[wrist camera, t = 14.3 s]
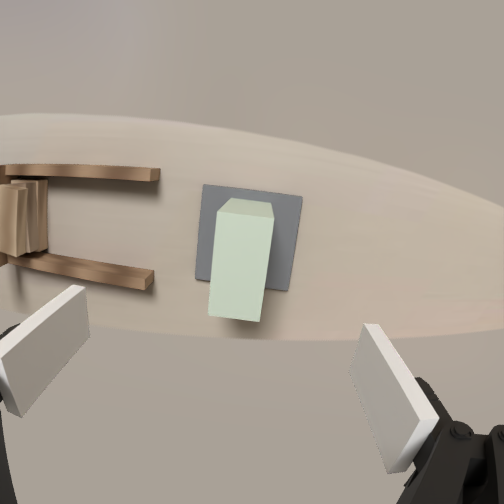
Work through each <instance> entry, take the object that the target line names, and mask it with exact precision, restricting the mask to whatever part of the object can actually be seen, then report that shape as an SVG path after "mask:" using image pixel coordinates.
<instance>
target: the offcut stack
mask: <svg viewBox="0 0 504 504" xmlns="http://www.w3.org/2000/svg"><path fill="white" fill-rule="evenodd" d="M47 187H48V179H14V180H11V184H2V185H0V252H3V253H6V254H9V255H12V256H15V257H18V256H20V255H22V254H24V253H26V252H29V253H30V252H33V251H36V252H40V251H42V250H44V249H46V248H48V240H47Z"/></svg>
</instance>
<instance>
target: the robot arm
mask: <svg viewBox="0 0 504 504" xmlns="http://www.w3.org/2000/svg"><path fill="white" fill-rule="evenodd" d="M89 337H90V331H89V322H88V311H87V299H86V287H83V286H78V285H71V286H70V287H69V288H67V289H66V290H65V291H63V292H62V293H60V294H59V295H58V296H56V297H55V298H54V299H52V300H51V301H50V302H48V303H47V304H46V305H44V306H43V307H42V308H40V309H39V310H38V311H37V312H35V313H34V314H33V315H31V316H30V317H29V318H27V319H26V320H25V321H24V322H22V323H21V324H20V323H19V324H17V325H14V326H12V327H10V328H8V329H7V330H6V331H5V332H3V334H1V335H0V402H1V401H2V400H3V401H4V404H5V406H6V409H7V411H8V412H10V413H12V414H14V415H16V416H19V417H21V418H22V417H23V416H24V415H25V413H26V412H27V411H28V410H29V408H30V407H31V406H32V405H33V403H34V402H35V401H36V400H37V398H38V397H39V396H40V395H41V394H42V392H43V391H44V390H45V389H46V387H47V386H48V385H49V384H50V383H51V381H52V380H53V379H54V378H55V377H56V375H57V374H58V373H59V372H60V371H61V370H62V368H63V367H64V366H65V365H66V364H67V363H68V361H69V360H70V359H71V358H72V357H73V355H74V354H75V353H76V352H77V351H78V350H79V349H80V347H81V346H82V345H83V344H84V343H85V342H86V341H87V340H88V338H89ZM349 373H350V376H351V378H352V381H353V383H354V386H355V388H356V391H357V393H358V396H359V399H360V401H361V404H362V406H363V409H364V412H365V414H366V417H367V420H368V422H369V425H370V428H371V430H372V432H373V436H374V438H375V441H376V444H377V447H378V449H379V452H380V455H381V458H382V460H383V463H384V466H385V469H386V472H387V474H392V473H399V472H405V471H406V470H407V469H408V467H409V466H410V465H411V463H412V462H414V465H415V467H416V470H415V471H414V472H413V474H412V475H411V476H410V478H409V479H408V481H407V482H406V483H405V484H404V486H405V489H404V491H403V493H402V495H401V496H400V498H399V500H398V502H397V503H396V504H504V425H497V426H495V427H494V428H493V429H492V430H491V432H490V433H489V435H480V434H474V432H473V430H472V429H471V428H470V427H469V426H468V425H467V424H465V423H463V422H459V421H453V420H452V418H451V417H450V415H449V414H448V413H447V411H446V409H445V408H444V406H443V405H442V403H441V401H440V400H438V399H439V398H438V397H437V395H436V394H434V391H433V390H432V388H431V387H430V385H429V384H428V383H427V382H425V381H424V380H423V379H422V378H420V377H418V378H414V377H413V375H412V374H411V372H410V371H409V369H408V368H407V366H406V365H405V363H404V362H403V360H402V359H401V357H400V356H399V354H398V353H397V351H396V350H395V348H394V347H393V345H392V344H391V342H390V341H389V339H388V338H387V336H386V335H385V333H384V332H383V330H382V329H381V328H380V326H379V325H378V324H365V323H364V324H363V327H362V331H361V334H360V338H359V341H358V344H357V348H356V351H355V354H354V357H353V361H352V364H351V367H350V370H349ZM0 504H17V500H16V496H15V492H14V488H13V484H12V480H11V475H10V470H9V465H8V460H7V454H6V448H5V442H4V435H3V427H2V419H1V411H0Z"/></svg>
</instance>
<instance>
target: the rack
mask: <svg viewBox="0 0 504 504" xmlns="http://www.w3.org/2000/svg"><path fill="white" fill-rule="evenodd" d="M20 175H40V176H69V177H90V178H108V179H124V180H138V181H155V180H159V176H160V169H158V168H144V167H127V166H107V165H79V164H8V165H0V185H2V184H11V180H14V179H20ZM7 263H10V264H14V265H19V266H23V267H28V268H32V269H37V270H41V271H46V272H51V273H56V274H60V275H65V276H70V277H75V278H80V279H86V280H91V281H96V282H101V283H107V284H112V285H118V286H124V287H129V288H135V289H141V290H145V289H146V288H147V287H148V286H149V285H150V284H151V283H152V282H153V280H154V270H147V269H141V268H134V267H128V266H122V265H115V264H109V263H103V262H97V261H91V260H85V259H79V258H73V257H67V256H61V255H55V254H50V253H44V252H36V251H33V252H30V253H29V252H26V253H24V254H22V255H20V256H18V257H15V256H12V255H9V254H6V253H3V252H0V267H1V266H3V265H5V264H7Z"/></svg>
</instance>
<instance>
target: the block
mask: <svg viewBox="0 0 504 504" xmlns="http://www.w3.org/2000/svg"><path fill="white" fill-rule="evenodd" d="M273 225H274V215H273V210H272V205H271V203H268V202H260V201H253V200H245V199H236V198H231V199H229V200H228V201H227V202H226V203H225V204H224V205H223V206H222V207H221V208H220V209H219V210H218V211H217V218H216V228H215V238H214V248H213V259H212V270H211V282H210V293H209V306H208V315H211V316H218V317H225V318H232V319H240V320H248V321H256V322H260V315H261V308H262V302H263V295H264V288H265V281H266V274H267V267H268V260H269V253H270V246H271V239H272V232H273Z"/></svg>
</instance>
